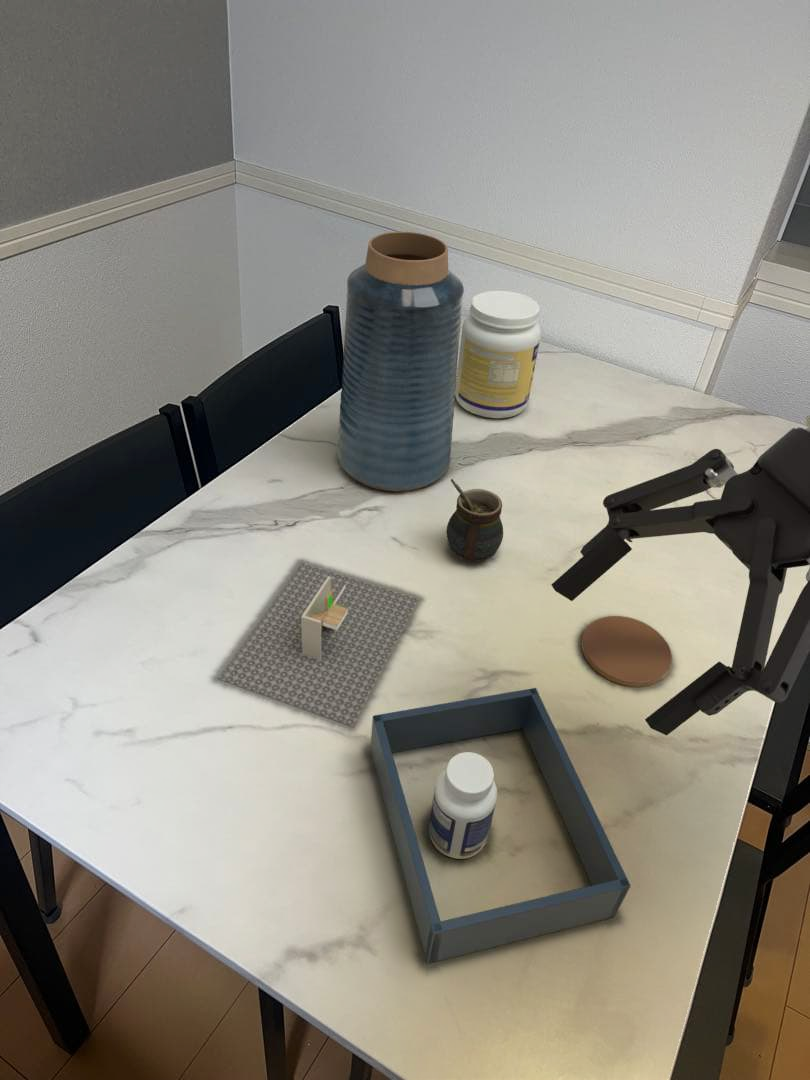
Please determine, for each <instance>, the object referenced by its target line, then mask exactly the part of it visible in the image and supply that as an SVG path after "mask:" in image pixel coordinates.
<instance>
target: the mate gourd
mask: <svg viewBox="0 0 810 1080" xmlns="http://www.w3.org/2000/svg"><path fill="white" fill-rule="evenodd" d="M450 482H451V483H452V485H453V486H454V488H455V490H456V491H457V492H458V493H459V495H458V496H457V499H456V506H455V511H454V512H453V514H452V515H451V516H450V518H449V520H448V521H447V522H448V523H447V525H446V533H445V534H446V540H447V545H448V547H449V550H451V552H452V553H453V554H454V555H455V556H457V557H458V558H460V559H462V560H464V561H465V562H467V563H468V562H470V564H471V563H478V562H483V561H486V560H488V559H490V558H492V557H493V556H495V555H496V553H497V552H498V550H499V549H500V546H501V545H502V542H503V539H504V526H503V522H502V520H501V514H502V508H503V501H502V499H501V498H500V497H499V496H498V495H497V494H496V493H493V491H490V490H487V489H483V488H472V489H471V488H470V489H467V490H465V491H463V489H461V487H460V485H459V484H458V483H456V481H455V480H454V479H453V478H451V479H450Z"/></svg>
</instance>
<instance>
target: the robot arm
mask: <svg viewBox="0 0 810 1080" xmlns="http://www.w3.org/2000/svg"><path fill="white" fill-rule="evenodd" d="M805 421H806V422H805V425H806V426H807V427H806V428H803V427H800V426H799V427H792V428H791V429H790V430H789V431H787V432H786V433H785V434H784V435H783V436H782V437H780V438H779V440H777V441H776V442H775V443H774V444H772V445H771V446H770V447H769V448H768V449H766V450H765V451H764V452H763V453H762V454H760V455H759V457H758V459H756V461H755V463H754V464H753V465H752V466H751V468H749V469H747V470H746V471H743V472H741V473H737V471H736V470H735V466H734V464H733V463H732V462H731V460H730V459H729V458H728V457H727V455H726V454H725V453H724V452H723V450H721V449H719V448H713V449H711V450H709V451H708V452H707V453H704V455H703V456H701V457H700V458H698V459H697V460H696V461H694V462H693V463H691V464H690V465H686V466H684V467H681V468H678V469H676V470H673V471H670V472H668V473H665V474H662V475H659V476H657V477H654V478H652V479H649V480H646V481H643V482H640V483H638V484H635V485H632V486H629V487H626V488H624V489H622V490H619V491H616V492H613V493H611V494H608V495H606V496H605V497H604V498H603V501H602V505H603V507H604V509H606V513H607V516H608V522H607V524H606V525H605V526H604V527H603V528H602V529H600V531H599V532H598V533H596V535H594V536H593V537H592V538H591V539H590V540H589V541H588V542H586V543H585V544H584V545H583V546H582V548H581V550H580V551H579V553H580V554H581V555H582V557H580V558H579V559H578V560H577V561H576V562H575V563H574V564H572V565H571V566H570V567H569V568H568V569H567V570H566V571H565V572H564V573H562V574H561V575H560V576H559V577H558V578H557V579H556V580H555V581H554V582H552V583H551V584H550V585H551V587H552V589H553V590H554V591H555V592H556V593H557V594H559V595H561V596H563V597H564V598H566V600H569V601H571V602H573V601H574V600H576V598H578V597H579V596H580V595H581V594H583V593H584V592H585V591H586V590H587V589H588V588H589V587H591V585H593V584H594V583H595V582H596V581H597V580H599V579H600V578H601V577H602V576H604V574H605V573H607V572H608V571H609V570H610V569H611V568H612V567H614V566H615V565H616V564H617V563H618V562H619V561H620V560H622V559H623V558H624V557H626V555H628V553H630V552H631V551H632V550H633V548H632V547H631V545H629V544H628V543H633V540H634V539H647V538H653V537H654V538H656V537H668V536H676V535H686V534H696V533H697V534H698V533H707V534H710V535H711V534H714V535H715V537H717V539H718V540H720V541H721V543H722V544H723V545H725V546H726V547H727V548H728V550H731V552H732V554H733V555H734V556H735V558H737V560H739V562H740V563H741V564H743V566H745V567H746V569H748V579H749V585H748V589H747V594H746V598H745V603H744V607H743V613H742V616H741V617H742V618H741V622H740V627H739V631H738V635H737V641H736V645H735V650H734V655H733V659H732V663H731V666H730V665H726V664H724V663H722V662H721V661H718V662H716V663H715V664H713V665H712V666H711V667H710V668H709V669H707V670H706V671H705V672H704V673H702V674H701V675H700V676H699V677H697V678H695V679H694V680H693V681H692V682H690V684H688V685H687V686H686V687H683V689H682V690H680V691H679V692H678V693H676V694H675V695H674V696H673V697H672V698H670V699H669V700H668V701H666V702H665V703H664V704H662V705H661V706H660V707H659V708H657V709H656V710H655V711H654V712H653V713H651V714H650V715H649V716H647V717H646V718H645V719H644V721H645V722H646V723H647V725H648V727H649V728H650V729H651V730H653V731H656V732H658V733H660V734H662V735H664V736H668V735H669V734H671V733H672V732H674V731H675V730H676V729H678V728H679V727H680V726H681V725H683V724H684V723H685V722H687V721H688V720H689V719H691V718H692V717H693V716H694V715H696V714H697V713H698V712H701V713H703V714H705V715H707V716H708V717H710V716H714V715H717V714H718V713H720V712H721V711H723V710H724V709H725V708H726V707H728V706H729V705H730V704H732V703H733V702H734V701H736V700H737V699H739V698H740V697H741V696H742V695H743V694H745V693H747V692H752V691H753V692H756V693H759V694H761V695H762V696H764V697H765V698H767V699H769V700H770V701H772V702H774V703H783V702H784V701H786V700H787V698H788V696H789V694H790V692H791V690H792V688H793V686H794V684H795V682H796V680H797V677H798V676H799V673H800V671H801V669H802V667H803V665H804V663H805V661H806V659H807V657H808V655H809V653H810V567H809V568H808V571H806V572H807V573H806V574H805V580H806V584H805V585H804V587H803V588H802V590H801V591H800V593H799V596H798V597H797V600H796V601H795V604H794V606H793V608H792V610H791V612H790V614H789V616H788V618H787V620H786V622H785V624H784V626H783V629H782V630H781V632H780V635H779V637H778V639H777V641H776V643H775V645H774V647H773V648H772V651H771V653H770V655H769V657H767V656H768V652H769V647H770V642H771V637H772V632H773V628H774V627H773V626H774V623H775V617H776V612H777V608H778V607H777V606H778V602H779V597H780V595H781V594H782V593H783V591H784V585H785V583H786V582H785V581H786V576H787V571H788V569H792V568H793V569H794V568H800V567H807V566H810V412H809V413H808V414H807V415H805ZM712 488H718V489H720V488H723V489H722V493H721V497H720V498H718V499H709V500H708V499H707V500H701V501H695V502H694V503H693V504H690V505H684V506H683V505H682V506H675V507H667V508H666V507H665V508H660V507H664V506H667V505H670V504H672V503H675V502H678V501H681V500H683V499H686V498H690V497H692V496H696V495H699V494H701V493H704V492H705V491H708V490H710V489H712ZM657 508H658V509H657ZM767 658H768V660H767Z"/></svg>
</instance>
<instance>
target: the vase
mask: <svg viewBox="0 0 810 1080" xmlns="http://www.w3.org/2000/svg"><path fill="white" fill-rule="evenodd" d="M346 280H347V281H346V304H345V305H346V307H345V322H344V324H345V325H344V341H343V342H344V343H343V359H342V375H341V376H342V378H341V380H342V381H341V390H340V391H341V392H340V403H339V420H338V421H339V422H338V440H337V459H338V461H339V464H340V466H341V467H342V469H343V470H344V471H345V472H346V474H348V475H349V476H350V477H351V478H353V479H354V480H356V481H357V482H358V483H361V484H362V485H365V486H367V487H370V488H373V489H377V490H381V491H387V492H388V491H389V492H408V491H414V490H418V489H421V488H424V487H427V486H429V485H432V484H433V483H434V482H436V481H437V480H439V479H440V478H441V477H442V476H443V475H444V474H445V473H446V471H447V470H448V468H449V466H450V462H451V453H452V442H453V429H454V428H453V427H454V419H455V418H454V416H455V404H456V401H455V399H456V395H455V387H456V379H457V370H458V361H459V349H460V338H461V337H460V335H461V334H460V332H461V324H462V323H461V322H462V313H463V311H462V308H463V299H464V292H465V288H464V284H463V282H462V281H461V279H460V278H459V277H458V276H457V275H456V274H455V273H453V272H452V271H451V270H450V269H449V248H448V246H447V244H446V243H445V242H444V241H443V240H442V239H441V240H440V239H439V238H437V237H435V236H433V235H429V234H426V233H422V232H415V231H389V232H388V231H387V232H383V233H380V234H377V235H375V236H373V237H372V238H370V240H369V241H368V245H367V251H366V257H365V263H363V264H361V265H360V266H359V267H356V268H355V269H354V270H352V271H351V273H349V275H348V276H347V279H346Z"/></svg>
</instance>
